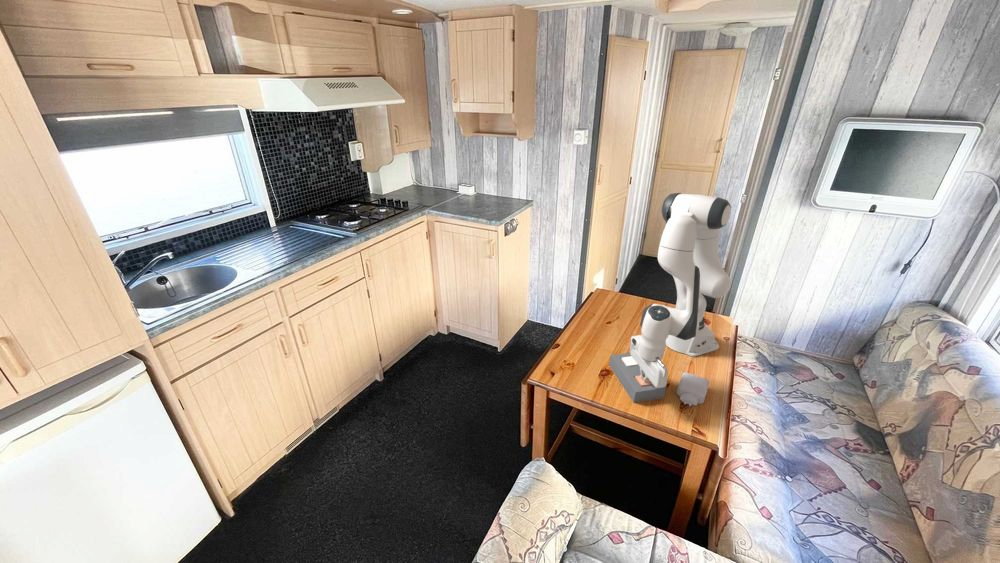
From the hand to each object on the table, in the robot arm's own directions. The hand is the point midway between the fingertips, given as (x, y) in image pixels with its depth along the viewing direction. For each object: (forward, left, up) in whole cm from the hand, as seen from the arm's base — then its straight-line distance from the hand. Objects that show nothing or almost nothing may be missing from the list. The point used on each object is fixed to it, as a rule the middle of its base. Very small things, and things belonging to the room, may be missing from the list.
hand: (644, 379), depth 147 cm
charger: (-16, +6, -6) cm, 18 cm away
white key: (0, -11, -3) cm, 11 cm away
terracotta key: (0, 0, -3) cm, 3 cm away
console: (0, -6, -5) cm, 8 cm away
